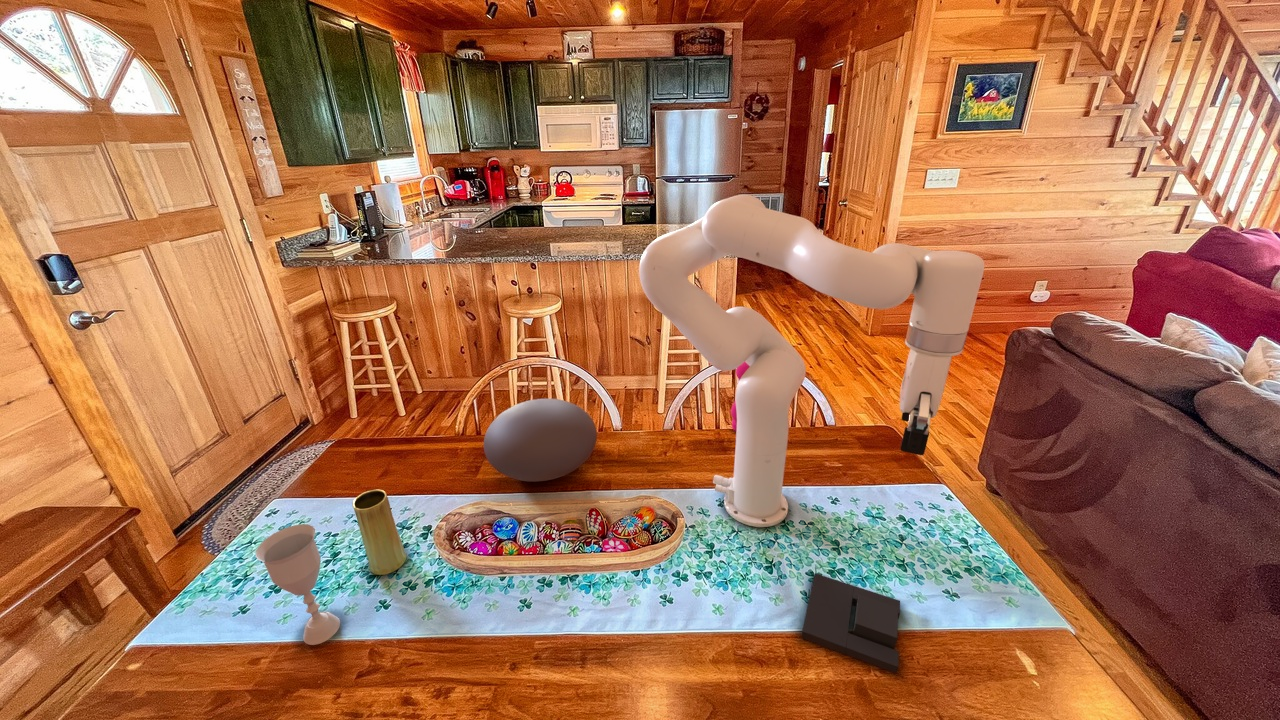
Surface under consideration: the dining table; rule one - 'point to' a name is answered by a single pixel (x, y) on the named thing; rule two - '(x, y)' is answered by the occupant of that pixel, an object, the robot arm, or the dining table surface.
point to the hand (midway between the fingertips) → (911, 436)
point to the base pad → (844, 622)
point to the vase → (379, 532)
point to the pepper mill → (739, 373)
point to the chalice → (298, 575)
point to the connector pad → (876, 622)
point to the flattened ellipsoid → (540, 440)
